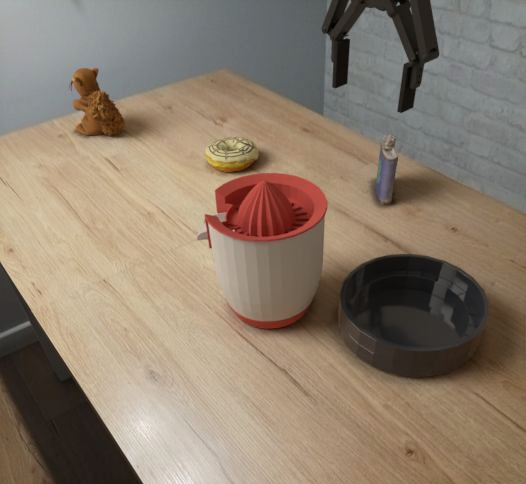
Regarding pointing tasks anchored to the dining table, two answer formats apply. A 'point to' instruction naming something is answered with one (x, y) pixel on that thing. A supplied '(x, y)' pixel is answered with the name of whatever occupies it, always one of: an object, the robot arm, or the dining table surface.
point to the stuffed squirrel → (95, 106)
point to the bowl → (412, 314)
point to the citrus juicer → (267, 246)
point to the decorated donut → (231, 154)
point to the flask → (386, 170)
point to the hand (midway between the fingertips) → (370, 97)
